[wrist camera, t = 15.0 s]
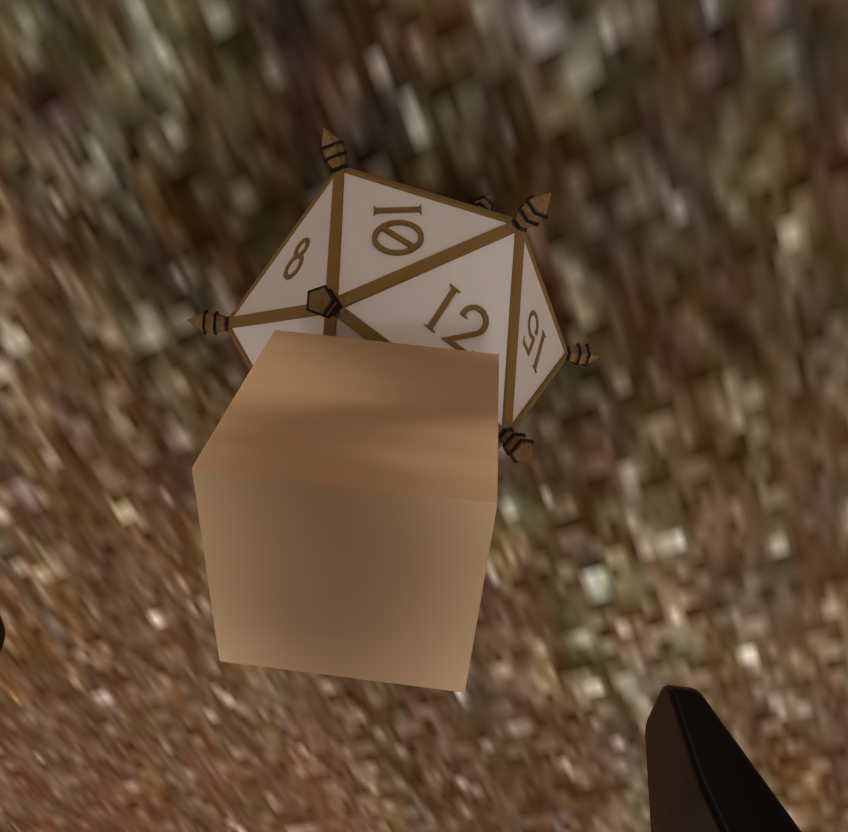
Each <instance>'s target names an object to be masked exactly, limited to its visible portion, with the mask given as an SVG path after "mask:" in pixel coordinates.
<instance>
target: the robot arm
mask: <svg viewBox="0 0 848 832" xmlns="http://www.w3.org/2000/svg"><path fill="white" fill-rule="evenodd" d="M4 639H5V628H4V624H3V622H2V619H1V616H0V651H1V649H2V646H3V643H4ZM645 740H646V756H647V772H648V788H649V804H650V820H651V832H801V831H800V829H799V828H798V827H797V825H796V824H795V822H794V821H793V820H792V818H791V817H790V816H789V814H788V813H787V811H786V810H785V809H784V807H783V806H782V805H781V803H780V802H779V800H778V799H777V798H776V796H775V795H774V793H773V792H772V791H771V789H770V788H769V787H768V785H767V784H766V782H765V781H764V780H763V778H762V777H761V776H760V774H759V773H758V771H757V770H756V769H755V767H754V766H753V764H752V763H751V762H750V760H749V759H748V758H747V756H746V755H745V753H744V752H743V751H742V749H741V748H740V747H739V745H738V744H737V742H736V741H735V740H734V738H733V737H732V735H731V734H730V733H729V731H728V730H727V729H726V727H725V726H724V724H723V723H722V722H721V720H720V719H719V718H718V716H717V715H716V713H715V712H714V711H713V709H712V708H711V706H710V705H709V704H708V702H707V701H706V700H705V698H704V697H703V696H702V694H701V693H700V692H699V691H697V690H696V689H694V688H690V687H682V686H675V685H666V686H665V687H663V689H662V690H661V692H660V694H659V696H658V698H657V700H656V703H655V705H654V707H653V709H652V711H651V713H650V715H649V718H648V720H647V724H646V732H645Z"/></svg>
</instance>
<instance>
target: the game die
mask: <svg viewBox="0 0 848 832" xmlns="http://www.w3.org/2000/svg"><path fill="white" fill-rule="evenodd" d="M342 143H344V141H343V140H341V141H340V140H339V139H338V138H337V137H335V136H334V135H333V134H332V133H330V132H329V131H328V130H326V129H325V128H324V127H323V138H322V148H320V151H323V153H324V155H325V159H324V160H325V162H328V163H329V165H330V166H331V168H332V171H333V173H332V175H331V176H330V178H329V179H328V180H327V182H326V183H325V185H324V186H323V187H322V189H321V190H320V192H319V193H318V194H317V196H316V197H315V199H314V200H313V201H312V203H311V204H310V205H309V207H308V208H307V210H306V211H305V212H304V214H303V215H302V217H301V218H300V219H299V221H298V222H297V224H296V225H295V226H294V228H293V229H292V230H291V232H290V233H289V235H288V236H287V237H286V239H285V240H284V242H283V243H282V244H281V246H280V247H279V249H278V250H277V251H276V253H275V254H274V256H273V257H272V258H271V260H270V261H269V262H268V264H267V265H266V267H265V268H264V269H263V271H262V272H261V274H260V275H259V276H258V278H257V279H256V281H255V282H254V283H253V285H252V286H251V287H250V289H249V290H248V292H247V293H246V294H245V296H244V297H243V299H242V300H241V301H240V303H239V304H238V306H237V307H236V308H235V310H234V311H233V313H232V314H231V315H230V316H229V317H226V316H223V315H221V314H219V312H217V311H216V312H215V313H210V312H208V310H205V311H204V312H203V313H202V314H200V315H197V316H195V317H193V318H191V319H188V321H189V322H190V323H192V324H193V325H195V326H196V327H197V328H199V329H200V330H202V331H203V333H204V335H206V333H207V332H210V333H214V335H217V333H218V332H222V331H227V332H229V333H230V335H231V337H232V339H233V340H234V342H235V344H236V346H237V348H238V349H239V351H240V353H241V355H242V357H243V359H244V360H245V362H246V364H247V366H248V368H249V369H250V370H251V368H252V367H253V365H254V363H255V362H256V360H257V358H258V357H259V355H260V353H261V352H262V350H263V348H264V347H265V345H266V343H267V342H268V340H269V338H270V337H271V335H272V333H273V332H274V330H281V331H290V332H299V333H309V334H318V335H327V336H336V337H345V338H354V339H363V340H372V341H382V342H391V343H400V344H409V345H418V346H427V347H436V348H445V349H455V350H464V351H473V352H482V353H491V354H499V398H498V449H499V448H500V447H501V446H503V448H504V450H505V452H506V454H507V455H508V456H509V455H510V456H511V458H512V460H513V461H514V463H517V462H518V461H522V462H534V457H533V450H532V445H533V442H534V441H533V440H528V439H526V438H525V436H526V435H525V434H524V433H516V432H515V430H516V429H517V427H518V426H519V425H520V423H521V422H522V420H523V419H524V418H525V416H526V415H527V413H528V412H529V411H530V409H531V408H532V406H533V405H534V404H535V402H536V401H537V400H538V398H539V397H540V395H541V394H542V393H543V391H544V390H545V388H546V387H547V386H548V384H549V383H550V381H551V380H552V379H553V377H554V376H555V375H556V373H557V372H558V370H559V369H560V368H561V366H562V365H563V363H564V362H565V361H568V360H569V361H571V362H572V363H574V364H575V365H578V364H582V365H584V366H586V367H587V365H588V364H589V363H590V362H592V361H594V360H596V359H598V358H599V357H600V356H599V355H598V354H597V353H596V352H595V351H593V350H592V349H591V348H590V347H589V344H586V345H585V346H581V345H580V344H579V343H577V344H576V345H575V346H572V347H568V346H566V343H565V340H564V338H563V335H562V332H561V329H560V326H559V324H558V321H557V318H556V315H555V312H554V309H553V307H552V304H551V301H550V298H549V295H548V293H547V290H546V287H545V284H544V281H543V279H542V276H541V273H540V270H539V267H538V265H537V262H536V259H535V256H534V253H533V251H532V248H531V245H530V242H529V239H528V237H527V234H526V230H527V229H528V228H530V227H532V226H538V225H539V221H540V220H542V219H543V218H544V219H547V218H548V216H547V209H548V205H549V200H550V196H551V193H548V194H544V195H540V196H536V197H534V196H533V195H532V196H530V197H529V198H527V199H526V200H525V202H526V204H523V205H522V206H520V207H519V208H518V209H517V210H518V211H519V212H518V214H517V216H516V217H515V218H514V217H511V216H507V215H504V214H501V213H497V212H494V211H492V209H493V207H494V205H495V204H494V203H493V202H492V197H491V194H489V195H486V196H485V195H484V196H481V197H477V198H475V199H474V201H475V203H474V204H472V205H471V204H468V203H464V202H461V201H458V200H454V199H451V198H448V197H445V196H441V195H438V194H435V193H431V192H428V191H425V190H422V189H418V188H415V187H412V186H408V185H405V184H402V183H398V182H395V181H392V180H389V179H385V178H382V177H379V176H375V175H372V174H369V173H366V172H362V171H359V170H356V169H352V168H349V167H348V166H347V165H346V161H345V154H347V151H344V149H343V146H342Z"/></svg>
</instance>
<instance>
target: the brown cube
mask: <svg viewBox="0 0 848 832" xmlns="http://www.w3.org/2000/svg"><path fill="white" fill-rule="evenodd" d="M498 398H499V354H491V353H482V352H473V351H464V350H455V349H445V348H436V347H427V346H418V345H409V344H400V343H391V342H382V341H372V340H363V339H354V338H345V337H336V336H327V335H318V334H309V333H299V332H290V331H281V330H274V332H273V333H272V335H271V337H270V338H269V340H268V342H267V343H266V345H265V347H264V348H263V350H262V352H261V353H260V355H259V357H258V358H257V360H256V362H255V363H254V365H253V367H252V368H251V370H250V372H249V373H248V375H247V377H246V378H245V380H244V382H243V383H242V385H241V387H240V388H239V390H238V392H237V393H236V395H235V397H234V398H233V400H232V402H231V403H230V405H229V407H228V408H227V410H226V412H225V413H224V415H223V417H222V418H221V420H220V422H219V423H218V425H217V427H216V428H215V430H214V432H213V433H212V435H211V437H210V438H209V440H208V442H207V443H206V445H205V447H204V448H203V450H202V452H201V453H200V455H199V456H198V458H197V460H196V461H195V463H194V465H193V466H192V473H193V480H194V487H195V494H196V501H197V507H198V514H199V521H200V528H201V535H202V542H203V549H204V556H205V563H206V570H207V577H208V584H209V591H210V598H211V605H212V612H213V619H214V626H215V633H216V640H217V647H218V654H219V661H223V662H231V663H239V664H247V665H254V666H262V667H270V668H278V669H286V670H293V671H301V672H309V673H317V674H325V675H332V676H340V677H348V678H356V679H364V680H371V681H379V682H387V683H395V684H403V685H411V686H418V687H426V688H434V689H442V690H450V691H457V692H465V688H466V682H467V676H468V670H469V664H470V659H471V653H472V647H473V641H474V636H475V630H476V624H477V618H478V612H479V607H480V601H481V595H482V589H483V584H484V578H485V572H486V566H487V561H488V555H489V549H490V543H491V537H492V532H493V526H494V520H495V514H496V509H497V491H498Z"/></svg>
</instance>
